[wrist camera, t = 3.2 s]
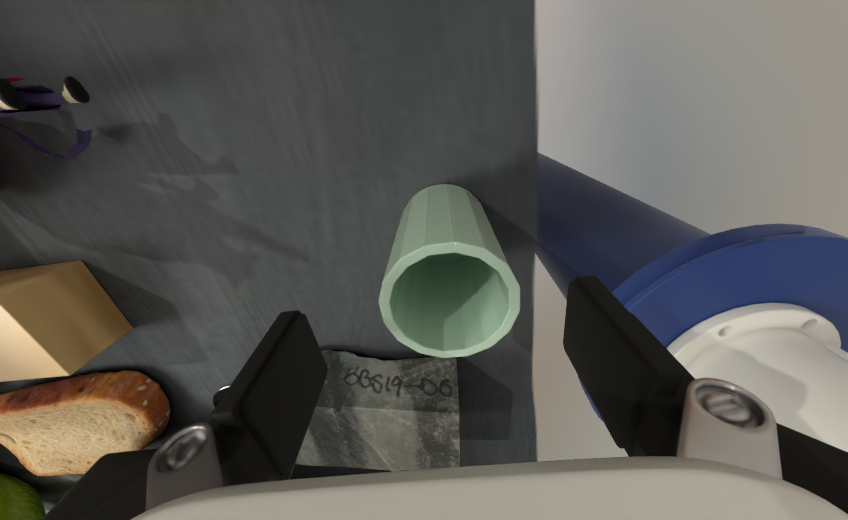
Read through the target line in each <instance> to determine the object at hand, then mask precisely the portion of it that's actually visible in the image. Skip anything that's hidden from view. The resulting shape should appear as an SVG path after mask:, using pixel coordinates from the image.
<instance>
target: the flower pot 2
mask: <svg viewBox="0 0 848 520" xmlns="http://www.w3.org/2000/svg"><path fill="white" fill-rule="evenodd" d="M156 451H157V449H152V450H137V451H125V452H117V453H108V454H105V455H104V456H102V457H101V458H100V459H98V460H97V461H96V462H95V463H94V464H93V465H92V467H91V468H90V469H89V470H88V471H87V472H86V473H85V474H84V475H83V476H82V477H81V478H80V479H79V480H78V481H77V483H76V484H75V485H74V486H73V487H72V488H71V489H70V490H69V491H68V492H67V493H66V494H65V495H64V496H63V497H62V498H61V499H60V501H59V502H58V503H57V504H56V505H55V506H54V507H53V508H52V509H51V510H50V511H49V512H48V513H47V514H46V515H45V516H44V517H43V518H42V520H80V519H81V518H83V517H84V516H86V515H87V514H89V513H90V512H92V511H93V510H94V509H96V508H97V507H99V506H100V505H102V504H103V503H105V502H106V501H108V500H109V499H111V498H112V497H114V496H115V495H117V494H118V493H120V492H121V491H123V490H124V489H126V488H127V487H129V486H130V485H132V484H133V483H135V482H136V481H137V480H139V479H140V478H142V477H143V476H145V475H146V474H147V471H148V466H149V462H150V460H151V458H152V457H153V455H154V453H155V452H156ZM294 466H295V465H294ZM293 469H294V467H293ZM293 469H292V471H293ZM292 471H291V472H289V473H287V476H286V478H285V480H289V479H290V476H291V474H292Z"/></svg>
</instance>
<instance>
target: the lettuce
mask: <svg viewBox="0 0 848 520" xmlns="http://www.w3.org/2000/svg"><path fill="white" fill-rule="evenodd" d="M45 515H46V513H45V509H44V505H43V502H42V500H41V498H40V496H39V495H38V493H37V491H36V490H35V488H33V487H32V486H30V485H28V484H27V483H25V482H23V481H22V480H20V479H18V478H15V477H12V476H9V475H7V474H4V473H1V472H0V520H42V518H43V517H44V516H45Z"/></svg>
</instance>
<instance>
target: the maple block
mask: <svg viewBox="0 0 848 520" xmlns="http://www.w3.org/2000/svg"><path fill="white" fill-rule="evenodd" d="M132 329H133V327H132V326H131V325H130V323H129V322H128V321H127V319H126V318H125V317H124V315H123V314H122V313H121V311H120V310H119V309H118V308H117V306H116V305H115V304H114V302H113V301H112V300H111V298H110V297H109V296H108V294H107V293H106V292H105V291H104V289H103V288H102V287H101V285H100V284H99V283H98V281H97V280H96V279H95V277H94V276H93V275H92V274H91V272H90V271H89V270H88V268H87V267H86V266H85V264H84V263H83V262H82V261H81V260H80V261H72V262H65V263H57V264H49V265H42V266H34V267H27V268H19V269H12V270H4V271H0V382H5V381H16V380H27V379H38V378H49V377H60V376H70V375H72V374H73V373H74V372H76V371H77V370H78V369H80V368H81V367H82V366H84V365H85V364H86V363H88V362H89V361H90V360H92V359H93V358H94V357H96V356H97V355H98V354H100V353H101V352H102V351H104V350H105V349H106V348H108V347H109V346H110V345H112V344H113V343H114V342H116V341H117V340H118V339H120V338H121V337H122V336H124V335H125V334H126V333H128V332H129V331H130V330H132Z"/></svg>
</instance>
